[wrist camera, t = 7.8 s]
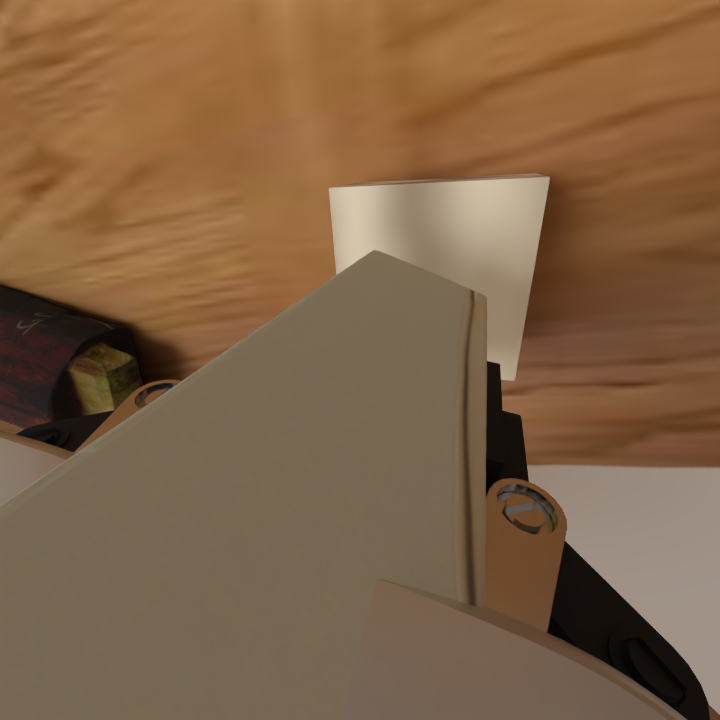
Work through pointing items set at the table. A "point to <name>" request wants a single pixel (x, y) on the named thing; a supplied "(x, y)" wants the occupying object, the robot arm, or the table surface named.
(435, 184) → the maple block
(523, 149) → the table surface
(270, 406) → the skincare box
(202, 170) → the table surface
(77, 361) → the packaged item
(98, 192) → the table surface
